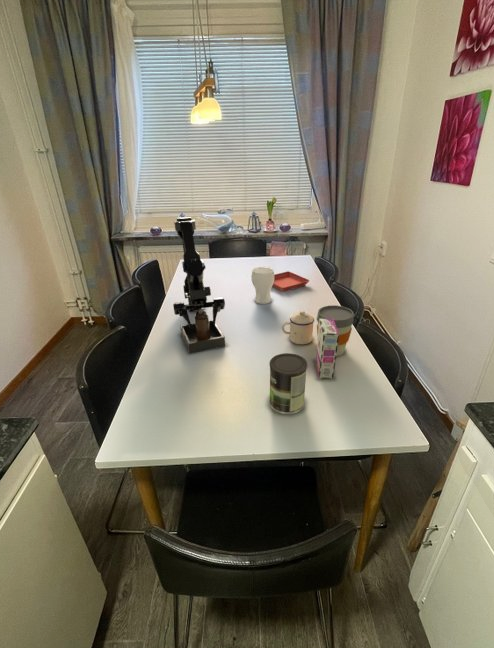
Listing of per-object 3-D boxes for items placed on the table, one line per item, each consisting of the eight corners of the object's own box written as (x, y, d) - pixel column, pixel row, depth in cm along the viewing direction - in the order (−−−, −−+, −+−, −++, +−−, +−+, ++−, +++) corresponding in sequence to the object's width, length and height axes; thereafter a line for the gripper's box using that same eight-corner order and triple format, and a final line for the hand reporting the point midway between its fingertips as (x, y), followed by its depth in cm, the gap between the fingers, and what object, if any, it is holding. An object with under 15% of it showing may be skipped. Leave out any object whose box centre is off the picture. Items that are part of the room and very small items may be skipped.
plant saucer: (309, 286, 182) (310, 279, 181) (282, 293, 174) (282, 287, 172) (288, 276, 195) (288, 270, 194) (261, 283, 187) (261, 277, 185)
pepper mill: (200, 338, 136) (196, 306, 128) (212, 339, 134) (209, 307, 127) (195, 344, 131) (191, 311, 124) (208, 345, 130) (204, 312, 123)
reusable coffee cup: (307, 345, 130) (310, 308, 122) (336, 338, 134) (340, 302, 126) (326, 362, 120) (330, 323, 113) (356, 354, 125) (362, 316, 117)
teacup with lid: (311, 333, 138) (313, 306, 132) (314, 344, 131) (316, 316, 125) (280, 333, 138) (281, 306, 132) (282, 345, 131) (283, 317, 125)
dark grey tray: (181, 334, 139) (180, 325, 137) (214, 328, 143) (213, 319, 141) (189, 353, 127) (188, 344, 125) (225, 346, 131) (224, 336, 129)
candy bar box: (334, 379, 112) (339, 334, 103) (318, 379, 112) (322, 334, 103) (329, 360, 121) (334, 317, 113) (314, 360, 122) (318, 317, 113)
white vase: (272, 305, 162) (272, 274, 154) (249, 304, 163) (249, 273, 156) (275, 297, 170) (276, 267, 163) (254, 295, 172) (253, 265, 164)
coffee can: (271, 416, 98) (271, 374, 90) (267, 393, 106) (267, 354, 99) (307, 413, 98) (311, 372, 91) (300, 391, 107) (303, 351, 100)
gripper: (169, 281, 122) (175, 323, 118) (222, 276, 126) (229, 317, 122) (171, 294, 132) (177, 333, 129) (220, 289, 136) (227, 327, 133)
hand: (202, 327), depth 128 cm, fingers open, 8 cm apart
